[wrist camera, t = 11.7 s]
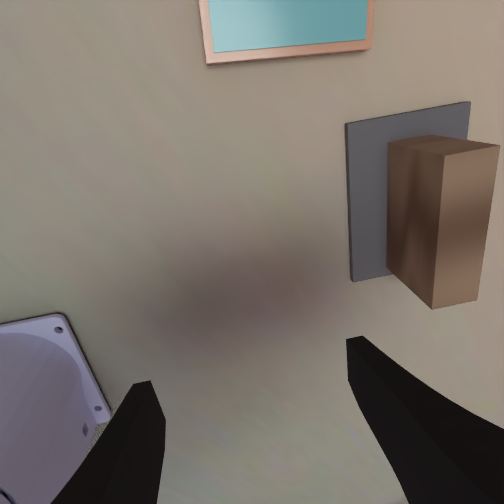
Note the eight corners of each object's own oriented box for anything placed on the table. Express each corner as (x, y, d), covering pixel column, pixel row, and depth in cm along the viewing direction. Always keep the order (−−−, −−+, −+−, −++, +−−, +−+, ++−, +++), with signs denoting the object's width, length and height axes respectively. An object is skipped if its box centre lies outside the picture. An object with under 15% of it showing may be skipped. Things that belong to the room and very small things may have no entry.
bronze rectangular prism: (422, 259, 22) (477, 300, 18) (386, 267, 22) (431, 309, 18) (430, 134, 19) (500, 145, 15) (387, 142, 19) (444, 155, 14)
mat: (449, 259, 23) (453, 261, 23) (350, 279, 23) (353, 282, 23) (465, 101, 19) (470, 101, 19) (344, 123, 19) (347, 124, 18)
